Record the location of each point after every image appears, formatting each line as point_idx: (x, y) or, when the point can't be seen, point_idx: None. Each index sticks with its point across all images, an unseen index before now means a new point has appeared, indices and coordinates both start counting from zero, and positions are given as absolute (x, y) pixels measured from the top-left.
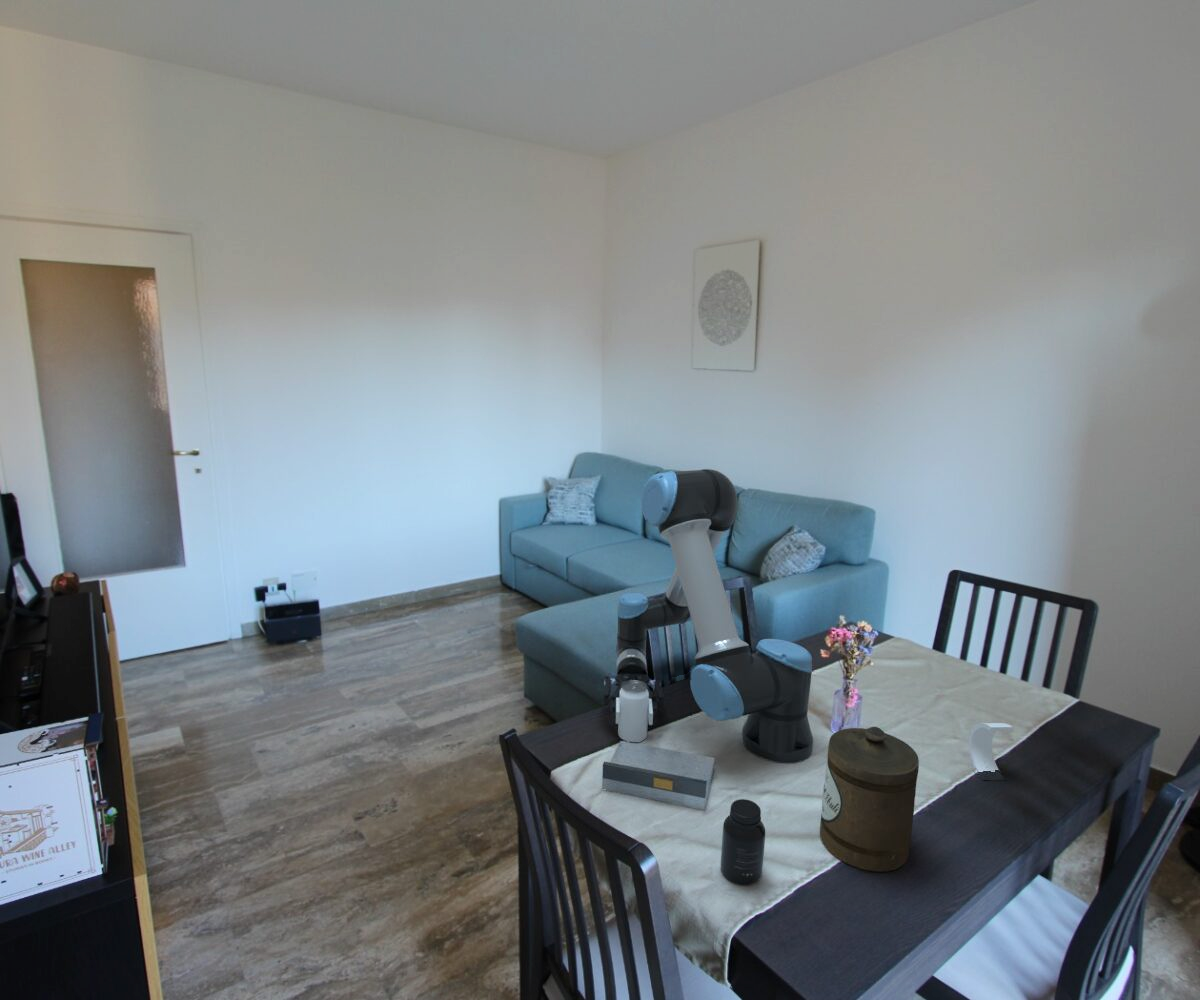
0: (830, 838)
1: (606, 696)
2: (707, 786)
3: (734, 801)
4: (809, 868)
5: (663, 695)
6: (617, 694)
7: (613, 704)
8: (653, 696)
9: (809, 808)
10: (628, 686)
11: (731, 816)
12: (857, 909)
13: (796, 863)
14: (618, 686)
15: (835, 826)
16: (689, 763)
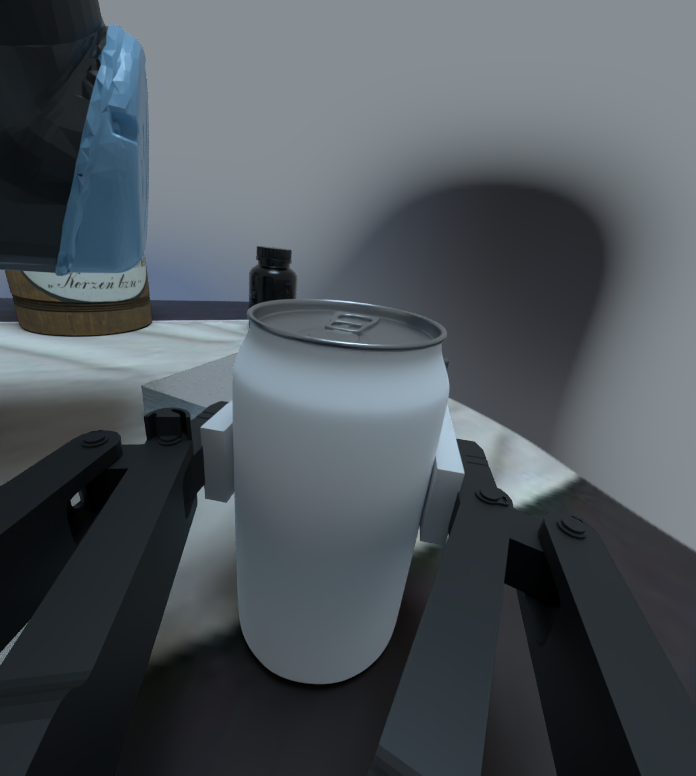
0: (148, 305)
1: (553, 515)
2: (235, 354)
3: (281, 249)
4: (195, 323)
5: (56, 452)
6: (460, 518)
7: (468, 456)
8: (183, 411)
9: (81, 346)
10: (390, 337)
11: (290, 259)
12: (195, 309)
13: (203, 326)
14: (481, 715)
15: (147, 283)
16: (224, 385)
